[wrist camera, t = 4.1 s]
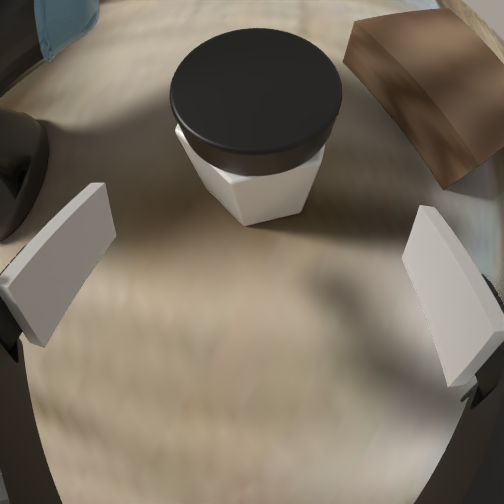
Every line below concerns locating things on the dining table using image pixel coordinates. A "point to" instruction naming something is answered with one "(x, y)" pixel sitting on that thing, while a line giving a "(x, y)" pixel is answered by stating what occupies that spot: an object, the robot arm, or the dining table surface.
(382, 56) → the walnut block
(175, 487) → the dining table surface
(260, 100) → the jar
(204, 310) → the dining table surface
